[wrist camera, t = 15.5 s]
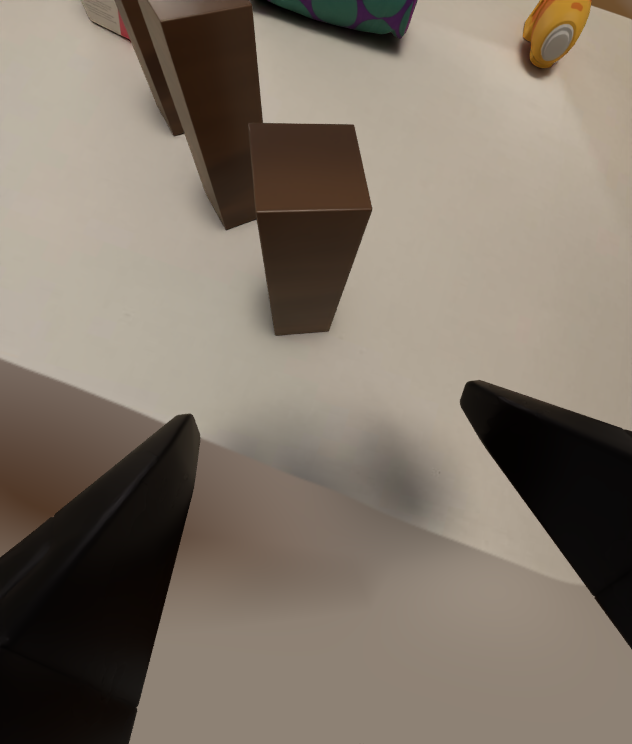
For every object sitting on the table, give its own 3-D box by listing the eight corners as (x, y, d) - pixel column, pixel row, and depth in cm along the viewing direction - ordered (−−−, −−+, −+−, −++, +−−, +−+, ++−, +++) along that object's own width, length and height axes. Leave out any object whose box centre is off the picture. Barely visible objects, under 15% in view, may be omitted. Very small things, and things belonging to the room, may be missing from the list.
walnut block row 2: (217, 124, 26) (157, -128, 14) (174, 136, 25) (73, -122, 13) (199, 94, 27) (129, -168, 15) (156, 104, 26) (47, -165, 14)
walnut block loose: (329, 331, 22) (373, 209, 10) (275, 335, 21) (255, 212, 9) (322, 283, 23) (354, 123, 11) (270, 287, 22) (247, 121, 10)
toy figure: (554, 86, 33) (561, 31, 36) (604, 19, 27) (608, -40, 30) (514, 72, 33) (524, 18, 36) (557, 2, 27) (565, -55, 30)
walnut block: (271, 213, 24) (252, 4, 12) (225, 230, 23) (159, 21, 11) (250, 178, 25) (213, -51, 13) (205, 193, 24) (124, -38, 12)
